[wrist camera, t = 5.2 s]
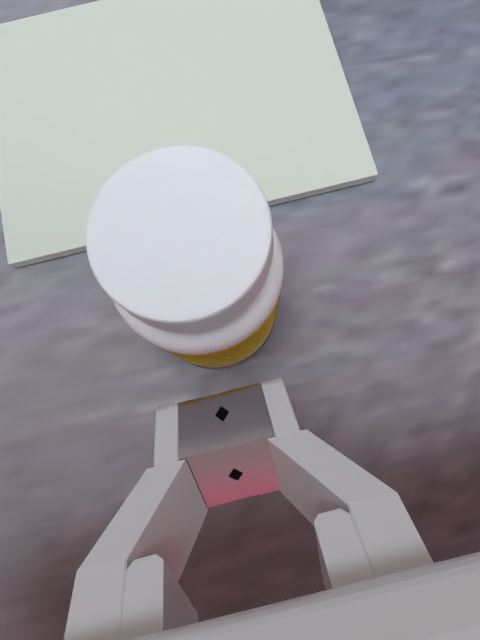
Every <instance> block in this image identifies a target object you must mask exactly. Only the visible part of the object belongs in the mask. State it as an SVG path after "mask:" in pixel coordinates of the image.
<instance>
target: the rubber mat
mask: <svg viewBox="0 0 480 640" xmlns="http://www.w3.org/2000/svg"><path fill="white" fill-rule="evenodd" d="M177 145H190V146H199V147H204V148H208V149H211V150H214V151H217V152H220V153H222V154H224V155H226V156H228V157H230V158H231V159H233V160H234V161H236V162H238V163H239V164H240V165H241V166H242V167H244V168H245V169H246V170H247V171H248V172H249V173H250V174H251V175H252V176H253V178H254V179H255V180H256V181H257V183H258V184H259V186H260V187H261V189H262V191H263V193H264V195H265V197H266V199H267V202H268V205H269V206H272V205H276V204H281V203H285V202H289V201H293V200H297V199H301V198H305V197H309V196H313V195H317V194H322V193H326V192H330V191H334V190H338V189H342V188H346V187H350V186H354V185H358V184H363V183H367V182H371V181H375V179H376V177H377V176H378V172H377V169H376V166H375V163H374V160H373V157H372V154H371V152H370V149H369V146H368V143H367V140H366V137H365V134H364V131H363V128H362V125H361V122H360V119H359V116H358V113H357V110H356V107H355V104H354V101H353V99H352V96H351V93H350V90H349V87H348V84H347V81H346V78H345V75H344V72H343V69H342V66H341V63H340V60H339V57H338V54H337V51H336V49H335V46H334V43H333V40H332V37H331V34H330V31H329V28H328V25H327V22H326V19H325V16H324V13H323V10H322V7H321V4H320V1H319V0H99V1H95V2H91V3H87V4H82V5H78V6H74V7H70V8H66V9H61V10H57V11H53V12H49V13H45V14H40V15H36V16H32V17H28V18H24V19H19V20H15V21H11V22H7V23H3V24H0V208H1V215H2V223H3V230H4V237H5V244H6V252H7V259H8V265H10V266H12V267H14V268H18V267H22V266H26V265H30V264H34V263H38V262H43V261H47V260H51V259H55V258H59V257H63V256H67V255H71V254H75V253H79V252H84V251H87V249H86V227H87V222H88V217H89V214H90V210H91V208H92V205H93V203H94V200H95V198H96V196H97V195H98V193H99V191H100V190H101V188H102V187H103V185H104V184H105V182H106V181H107V180H108V179H109V178H110V177H111V175H112V174H114V173H115V172H116V171H117V170H118V169H119V168H120V167H122V166H123V165H124V164H126V163H127V162H129V161H130V160H132V159H133V158H135V157H137V156H139V155H141V154H143V153H146V152H148V151H151V150H154V149H158V148H163V147H168V146H177Z"/></svg>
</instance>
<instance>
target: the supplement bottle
mask: <svg viewBox="0 0 480 640" xmlns="http://www.w3.org/2000/svg"><path fill="white" fill-rule="evenodd" d="M86 249H87V254H88V259H89V263H90V266H91V269H92V271H93V273H94V275H95V277H96V279H97V281H98V282H99V284H100V285H101V287H102V288H103V290H104V291H105V292H106V293H107V294H108V295H109V296H110V297H111V299H112V300H113V301H114V304H115V306H116V308H117V310H118V311H119V313H120V315H121V316H122V318H123V319H124V320H125V322H126V323H127V324H128V325H129V326H130V327H131V328H132V329H133V330H134V331H135V332H136V333H137V334H138V335H140V336H141V337H143V338H144V339H145V340H147V341H149V342H150V343H152V344H154V345H156V346H158V347H160V348H162V349H164V350H166V351H168V352H170V353H172V354H174V355H176V356H178V357H180V358H182V359H183V360H185V361H187V362H189V363H191V364H193V365H196V366H199V367H203V368H208V369H225V368H229V367H233V366H236V365H239V364H241V363H243V362H245V361H246V360H248V359H249V358H251V357H252V356H253V355H255V354H256V353H257V352H258V351H259V350H260V349H261V347H262V346H263V345H264V343H265V342H266V340H267V339H268V337H269V335H270V333H271V330H272V328H273V325H274V322H275V316H276V312H277V307H278V302H279V298H280V293H281V289H282V285H283V277H284V260H283V253H282V249H281V245H280V242H279V239H278V236H277V234H276V232H275V230H274V228H273V225H272V217H271V211H270V208H269V205H268V202H267V199H266V197H265V195H264V193H263V191H262V189H261V187H260V186H259V184H258V183H257V181H256V180H255V179H254V178H253V176H252V175H251V174H250V173H249V172H248V171H247V170H246V169H245V168H244V167H242V166H241V165H240V164H239V163H238V162H236V161H234V160H233V159H231V158H230V157H228V156H226V155H224V154H222V153H220V152H217V151H214V150H211V149H208V148H204V147H199V146H190V145H177V146H168V147H163V148H158V149H154V150H151V151H148V152H146V153H143V154H141V155H139V156H137V157H135V158H133V159H132V160H130V161H129V162H127V163H126V164H124V165H123V166H122V167H120V168H119V169H118V170H117V171H116V172H115V173H114V174H112V175H111V177H110V178H109V179H108V180H107V181H106V182H105V184H104V185H103V187H102V188H101V190H100V191H99V193H98V195H97V196H96V198H95V200H94V203H93V205H92V208H91V210H90V214H89V217H88V222H87V227H86Z"/></svg>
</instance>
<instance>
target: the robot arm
mask: <svg viewBox="0 0 480 640" xmlns="http://www.w3.org/2000/svg"><path fill="white" fill-rule="evenodd" d="M279 490H280V491H281V493H282V494H283V495H284V496H285V497H286V498H287V499H288V500H289V501H290V502H291V503H292V504H293V505H294V506H295V507H296V508H297V509H298V510H299V511H300V512H301V513H302V514H303V515H304V516H305V518H306V519H307V520H308V521H309V522H310V523H311V524H312V525H313V526H314V527H315V534H316V540H317V546H318V552H319V558H320V564H321V571H322V577H323V582H324V586H325V590H324V591H321V592H317V593H313V594H309V595H305V596H301V597H297V598H293V599H289V600H285V601H281V602H277V603H273V604H269V605H265V606H261V607H257V608H253V609H249V610H245V611H241V612H237V613H233V614H229V615H225V616H221V617H217V618H213V619H209V620H205V621H201V622H198V613H197V611H196V610H195V608H194V607H193V605H192V604H191V602H190V600H189V599H188V597H187V596H186V594H185V593H184V591H183V589H182V588H181V586H180V585H179V583H178V582H179V580H180V577H181V575H182V572H183V570H184V567H185V565H186V563H187V560H188V558H189V555H190V553H191V551H192V548H193V546H194V543H195V541H196V539H197V536H198V534H199V531H200V529H201V527H202V524H203V522H204V519H205V517H206V514H207V512H208V509H207V508H210V507H214V506H217V505H221V504H225V503H228V502H232V501H235V500H239V499H243V498H247V497H252V496H256V495H261V494H265V493H270V492H274V491H279ZM64 640H480V552H476V553H472V554H468V555H464V556H460V557H456V558H452V559H448V560H444V561H440V562H436V563H434V562H433V560H432V558H431V556H430V555H429V553H428V551H427V549H426V547H425V545H424V543H423V541H422V539H421V537H420V535H419V533H418V531H417V529H416V528H415V526H414V524H413V522H412V520H411V518H410V516H409V514H408V512H407V510H406V508H405V506H404V504H403V502H402V500H401V499H400V497H399V495H398V493H397V492H396V491H394V490H393V489H392V488H390V487H389V486H387V485H386V484H384V483H383V482H382V481H380V480H379V479H377V478H376V477H374V476H373V475H372V474H370V473H369V472H367V471H366V470H364V469H363V468H362V467H360V466H359V465H357V464H356V463H354V462H353V461H352V460H350V459H349V458H347V457H346V456H344V455H343V454H342V453H340V452H339V451H337V450H336V449H334V448H333V447H332V446H330V445H329V444H327V443H326V442H324V441H323V440H322V439H320V438H319V437H317V436H316V435H314V434H313V433H312V432H310V431H309V430H307V429H306V430H301V431H300V428H299V425H298V422H297V419H296V416H295V414H294V411H293V408H292V405H291V402H290V399H289V396H288V393H287V390H286V388H285V385H284V382H283V380H282V379H281V378H278V379H274V380H270V381H266V382H262V383H261V385H260V383H259V384H255V385H251V386H247V387H243V388H239V389H235V390H231V391H228V392H224V393H220V394H216V395H212V396H207V397H203V398H198V399H194V400H189V401H185V402H180V403H178V404H173V405H169V406H164V407H159V408H158V409H157V412H156V420H155V441H154V461H153V467H151V468H148V469H146V471H145V472H144V474H143V475H142V476H141V478H140V479H139V481H138V482H137V484H136V485H135V487H134V488H133V490H132V491H131V493H130V494H129V495H128V497H127V498H126V500H125V501H124V503H123V504H122V506H121V507H120V509H119V510H118V512H117V513H116V515H115V516H114V517H113V519H112V520H111V522H110V523H109V525H108V526H107V528H106V529H105V531H104V532H103V534H102V535H101V536H100V538H99V539H98V541H97V542H96V544H95V545H94V547H93V548H92V550H91V551H90V553H89V554H88V556H87V557H86V558H85V560H84V561H83V563H82V564H81V566H80V567H79V569H78V570H77V572H76V577H75V582H74V587H73V593H72V598H71V603H70V608H69V614H68V619H67V624H66V629H65V635H64Z"/></svg>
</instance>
